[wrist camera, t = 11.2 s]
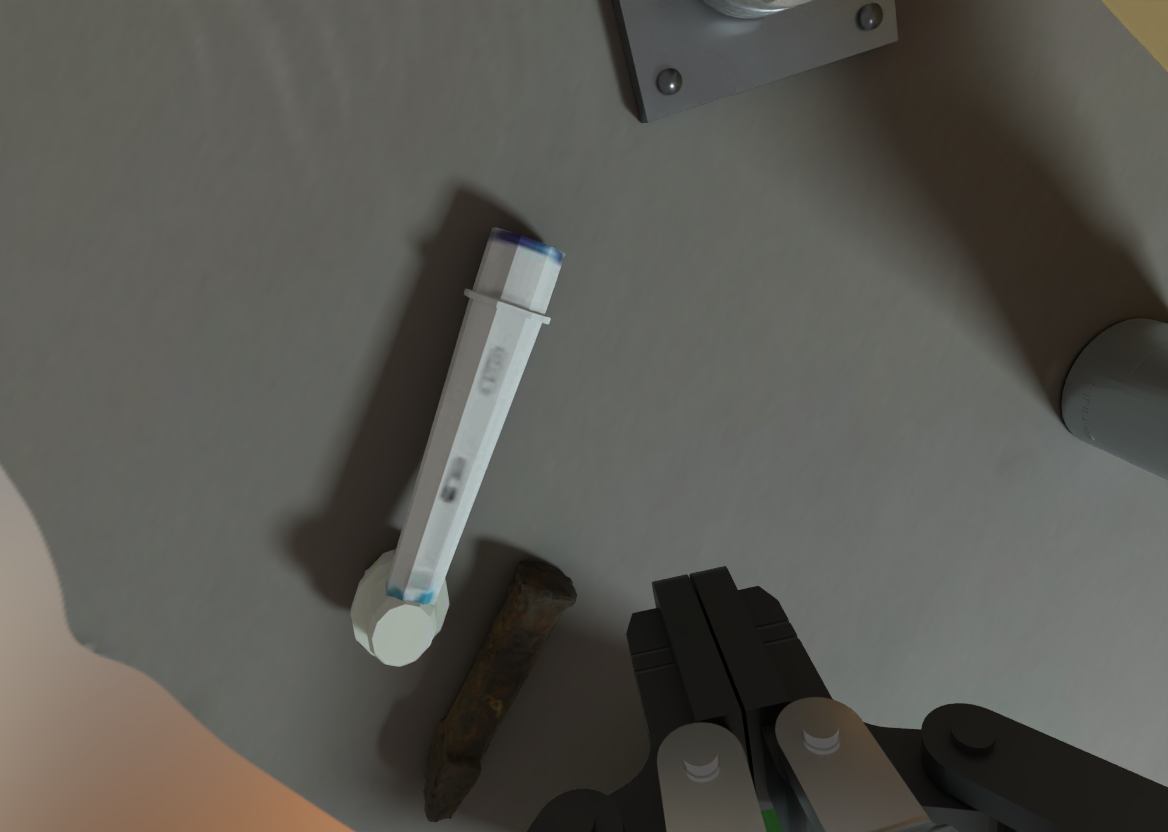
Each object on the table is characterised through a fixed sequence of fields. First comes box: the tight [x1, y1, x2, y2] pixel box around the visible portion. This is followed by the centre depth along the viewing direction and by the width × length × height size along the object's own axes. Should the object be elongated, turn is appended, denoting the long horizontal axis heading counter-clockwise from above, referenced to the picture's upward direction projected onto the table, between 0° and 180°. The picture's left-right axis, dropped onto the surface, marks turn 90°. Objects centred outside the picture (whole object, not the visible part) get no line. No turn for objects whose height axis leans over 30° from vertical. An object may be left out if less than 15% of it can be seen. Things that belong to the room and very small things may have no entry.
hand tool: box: [424, 561, 577, 822], centre depth 46 cm, size 19×4×5 cm, turn 150°
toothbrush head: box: [351, 228, 565, 667], centre depth 39 cm, size 5×7×25 cm
